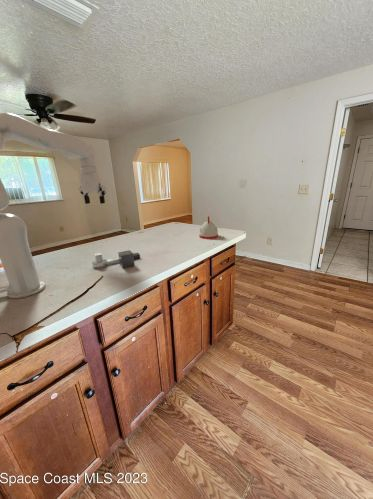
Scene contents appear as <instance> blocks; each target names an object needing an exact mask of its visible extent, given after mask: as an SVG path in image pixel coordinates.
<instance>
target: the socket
mask: <svg viewBox="0 0 373 499" xmlns="http://www.w3.org/2000/svg"><path fill="white" fill-rule="evenodd" d="M117 254H118V258H119V261H120V263H119V265H120V266H121V268H122V269H123V270H124V269H128V268H132V267H135V260H134V256H133V252H132V251H131V250H130V249H128V250H124V251H119V252H117Z"/></svg>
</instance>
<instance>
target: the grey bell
mask: <svg viewBox="0 0 373 499" xmlns="http://www.w3.org/2000/svg"><path fill="white" fill-rule="evenodd" d="M199 238H200V239H203V240H204V239H205V240H213V239H216V238H219V232H218V226H216V224H214V222H212V221H211V220H210V216H209V215H208V216H207V221H204V223H203V224H202V225H201V226H200V227H199Z"/></svg>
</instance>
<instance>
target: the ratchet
mask: <svg viewBox="0 0 373 499" xmlns="http://www.w3.org/2000/svg"><path fill="white" fill-rule="evenodd" d="M132 253H133V252H132ZM133 256H134V261H135V260H139V259H141V255H140V252H134V253H133ZM94 258H95V260H93V261H92V263H91V264H92V268H93V269H95V270H96V269H97V270H98V269H99V270H100V269H104V268H106V267H107V266H110V265H116V264H120V261H119V257H115V258H110V259H105V258H103V254H102V252H99V253H94Z"/></svg>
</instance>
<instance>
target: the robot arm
mask: <svg viewBox="0 0 373 499" xmlns="http://www.w3.org/2000/svg"><path fill="white" fill-rule="evenodd" d="M9 141H17V142H19V143H21V144H26V145H28V146H32V147H34V148H36V149H37V148H38V149H40V150H43V151H44V150H45V151H52V152H53V151H54V152H60V154H61V156H63V158H65V159H67V160H70V161H71V160H79V164H80V168H79V171H80V172H81V173H80V185H81V186H80V187H78V191H79V193H80V194H81V195H82V196H83V199H84V203H85V205H89V204H90V203H91V201H90V196H89V194H91V193H92V194H93V193H97V194H98V196H99V198H98V199H99V203H100V204H106V200H105V195H106V193H107V190H108V187H107V186H105V185H103V184H102V181H101V178H100V174H99V172H98V170H97V163H96V162H97V161H96V157H95V150H94V146H93V145H92V144H88V143H87V142H86V141H85V140H83V139H81V138H79V137H77V136H75V135H72V134H69V133H66V132H62V131H58V130H54V129H49V128H46V127H44V126H41V125H39V124H36V123H34V122H33V121H30V120H28V119H26V118H23V117H21V116H19V115H17V114H13V113H11V112H1V113H0V152H2V150H3V149H4V148H5V142H9ZM10 202H11V200H10V197H9V195H8V192H7V190H6V188H5V185H4V183H3V182H2V179H1V178H0V211H3V210H5V209H6V208H8V207H9V205H10ZM26 224H27V223H25V221H24V220H23V218H21V217H19V215H16V214H13V213H5V212H4V213H2V212H0V262H1V265H2V268H3V271H4V273H5V276H6V279H7V284H5V285H0V294H1V293H5V292H7V293H6V294H7V297H8V298H10V299H21V298H22V299H23V298H26V297H30V296H32V295H35V294H38V293H39V292H41V291H42V290H44V288H46V282H44V281H42V280H40V278H39V274H38V270H37V268H36V264H35V261H34V258H33V255H32V252H31V249H30V244H29V240H28V228H27V225H26Z"/></svg>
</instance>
